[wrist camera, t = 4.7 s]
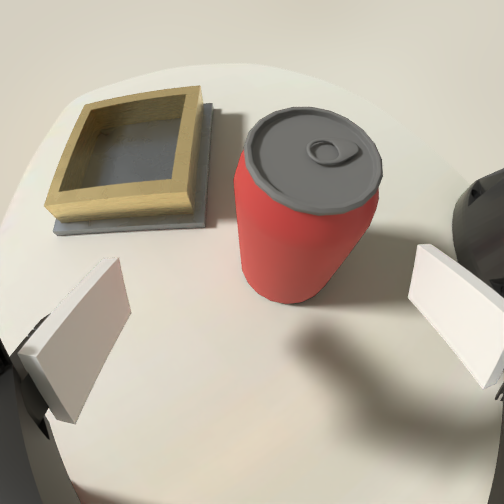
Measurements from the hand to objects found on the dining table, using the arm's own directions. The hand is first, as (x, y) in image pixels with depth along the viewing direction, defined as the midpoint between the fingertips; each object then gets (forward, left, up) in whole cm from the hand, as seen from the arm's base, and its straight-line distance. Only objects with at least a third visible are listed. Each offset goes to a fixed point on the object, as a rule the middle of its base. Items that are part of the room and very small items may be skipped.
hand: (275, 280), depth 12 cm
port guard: (+11, -14, -9) cm, 20 cm away
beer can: (-2, -4, -9) cm, 10 cm away
